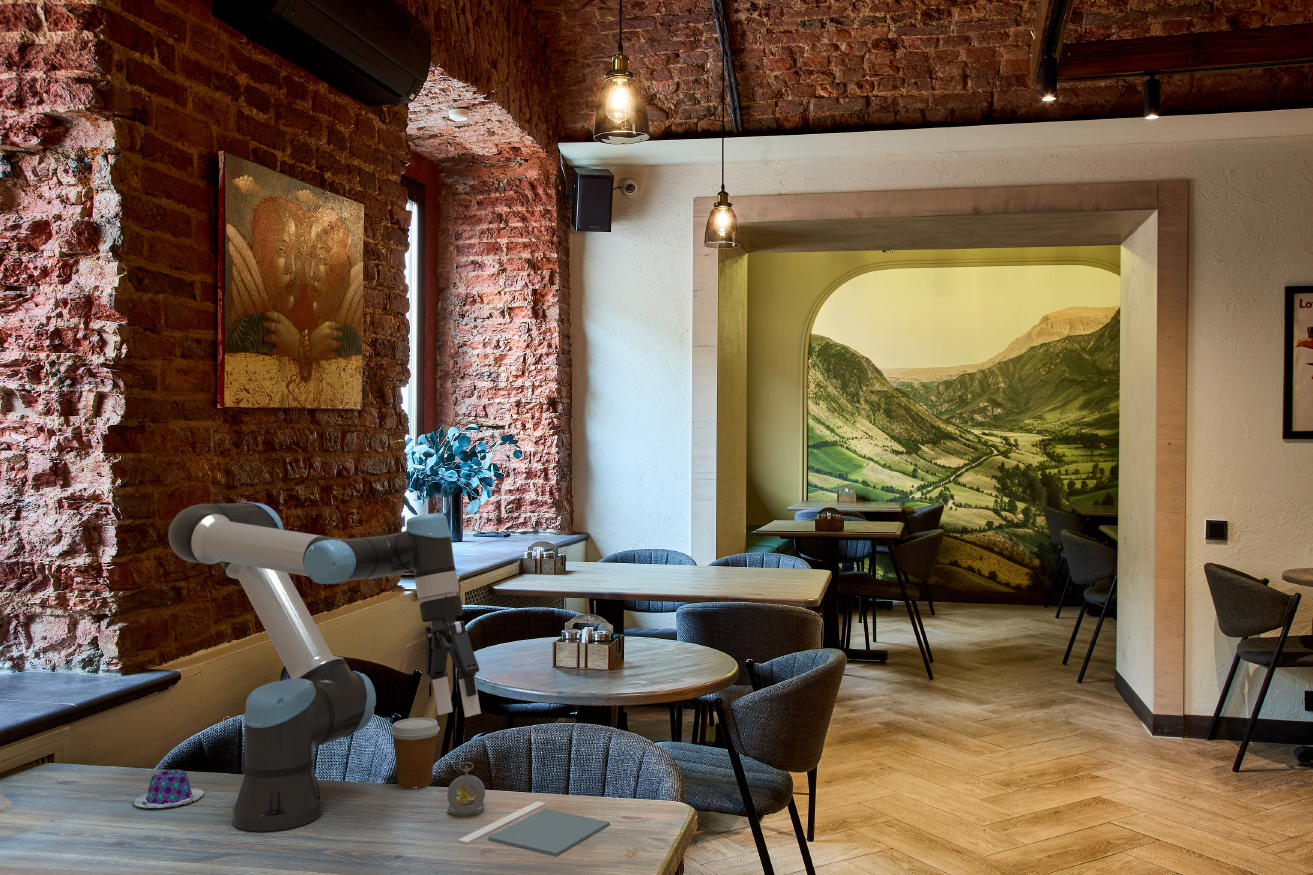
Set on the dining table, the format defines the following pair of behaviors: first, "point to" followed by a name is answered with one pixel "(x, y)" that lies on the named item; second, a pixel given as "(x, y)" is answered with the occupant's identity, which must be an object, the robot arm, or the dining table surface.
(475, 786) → the pocket watch
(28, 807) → the dining table surface
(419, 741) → the disposable coffee cup
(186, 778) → the purple domed brimmed part
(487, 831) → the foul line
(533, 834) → the mat
